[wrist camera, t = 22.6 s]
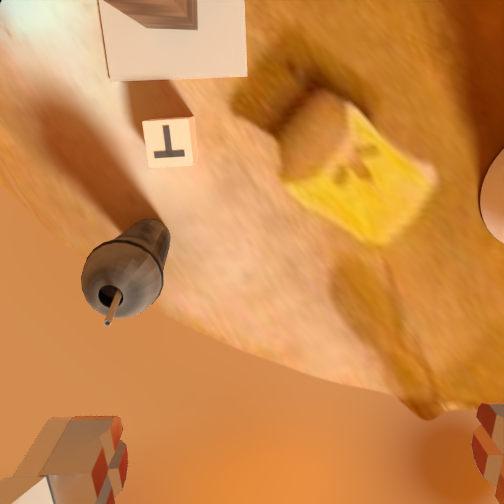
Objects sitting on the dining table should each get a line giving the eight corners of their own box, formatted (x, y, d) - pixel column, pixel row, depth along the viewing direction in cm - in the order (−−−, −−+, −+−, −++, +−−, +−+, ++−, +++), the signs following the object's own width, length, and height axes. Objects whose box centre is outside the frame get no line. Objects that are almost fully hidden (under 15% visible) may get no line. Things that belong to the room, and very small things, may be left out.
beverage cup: (114, 209, 48) (27, 284, 29) (177, 204, 48) (130, 275, 29) (126, 268, 50) (54, 370, 32) (186, 263, 50) (149, 363, 32)
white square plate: (241, -90, 38) (241, -93, 38) (247, 76, 43) (247, 76, 43) (87, -84, 38) (85, -86, 38) (111, 81, 43) (110, 81, 43)
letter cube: (194, 116, 44) (188, 118, 40) (198, 159, 46) (193, 165, 42) (152, 118, 45) (141, 121, 40) (158, 161, 46) (148, 168, 42)
